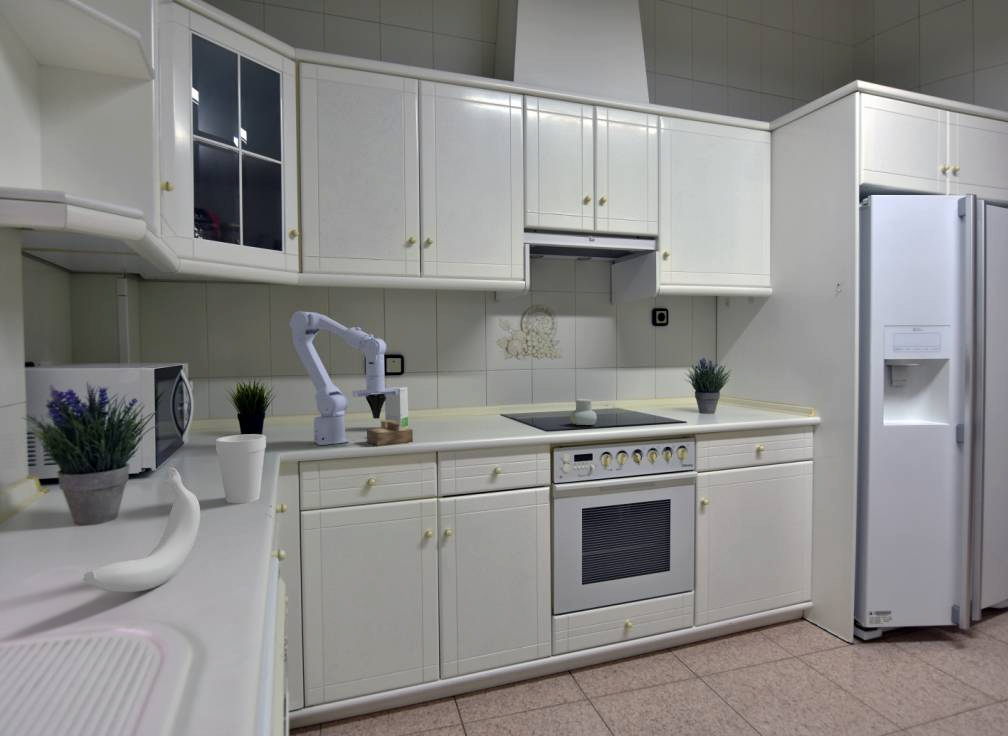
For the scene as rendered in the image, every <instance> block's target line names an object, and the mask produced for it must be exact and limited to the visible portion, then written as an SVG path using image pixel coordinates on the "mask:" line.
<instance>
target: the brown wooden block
mask: <svg viewBox="0 0 1008 736" xmlns="http://www.w3.org/2000/svg"><path fill="white" fill-rule="evenodd" d="M399 427H401V426H399ZM371 429H372V428H370V429H366V442H367V443H368V442H369V443H368V444H370V443H371V445H373V446H375V447H385V446H394V445H401V444H402V443H403V444H409V442H412V443H413V442H414V441H413V440H414V439H413V434H414V433H413V432H414V430H413V429H411V430H402V431H392V432H383V433H378V432H375V431H372V430H371ZM376 429H381V427H380V428H379V427H378V428H376ZM403 444H402V445H403Z"/></svg>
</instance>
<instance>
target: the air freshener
mask: <svg viewBox="0 0 1008 736" xmlns="http://www.w3.org/2000/svg"><path fill="white" fill-rule="evenodd" d="M597 417H598V416H597V413H596V412H595V411H593V410H592V399H589V398H577V399H576V400H575V410H573V411H572V412H570V421H571V424H573V425H575V424H576V425H591V426H593V425H594V424H596V422H597V421H598V418H597ZM576 425H575V426H576Z"/></svg>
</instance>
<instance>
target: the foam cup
mask: <svg viewBox="0 0 1008 736" xmlns="http://www.w3.org/2000/svg"><path fill="white" fill-rule="evenodd" d="M266 448H267V437H266V435H265V434H259V433H258V434H256V433H255V434H254V433H252V434H251V433H250V434H247V433H246V434H245V433H244V434H235V435H228V436H222V437H218V438H217V439H215V452H217V457H218V462H219V469H220V473H221V479H222V486H223V491H224V496H225V499H226V500H225V502H227V503H228V504H245V503H246V504H247V503H251V502H256V501H257V500H259V498H260V495H261V487H262V486H261V485H262V479H263V478H262V477H263V469H264V460H265V451H266Z"/></svg>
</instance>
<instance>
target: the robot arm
mask: <svg viewBox="0 0 1008 736" xmlns="http://www.w3.org/2000/svg"><path fill="white" fill-rule="evenodd" d="M290 318H291V319H290V322H289V323H288V324H289V326H290V328H291V330H292V331H291V332H292V333H291V334H292V344H293V346H294V348H295V350H296V352H297V354H298V356H299V359H300V360H301V362H302V364H303V366H304V368H305V370H306V372H307V374H308V376H309V378H310V380H311V382H312V385H313V386H314V388H315V391H316V392H315V395H314V398H315V401H316V408H317V411H318V412H319V414H320V416H315V417H314V419H313V435H314V436H313V443H315V444H317V445H319V446H326V445H327V446H328V445H335V444H336V445H337V444H345V443H350V440H348V439H347V438H346V428H345V427H346V426H345V425H346V423H345V422H346V420H345V416H346V415H345V414H346V413H345V411H346V410H347V409H348V406H349V400H348V398H347V396H346V395H344V394H343V393H342V392H341V390H340V388H339V387H338V386H336V385H334V384H333V382H332V380H331V378H330V376H329V374H328V372H327V370H326V368H325V366H324V364H323V362H322V360H321V358H320V356H319V354H318V352H317V349H316V348H315V346H314V344H313V341H314V339H315V337H316V336H317V334H318V333H319V332H320V330H321V329H324V330H326V331H327V332H331V333H333V334H335V335H337V336H339V337H341V338H343V340H344V343H345V344H348V345H349V346H351V347H353V348H355V349H358V351H360V352H362V353H363V354H364V356H365V375H366V376H365V383H366V389H361V390H358V389H357V390H352V398H358V397H359V398H360V397H361V398H362V397H365V399H366V402H367V404H368V405H369V407H370V410H371V413H372V418H373V419H374V420H375V419H380V418H381V412H382V408H383V406H384V405H385V400H386V396H385V395H393V394H395V395H397V394H398V389H397V388H398V387H389V388H390V389H385V388H386V385H385V381H386V380H385V377H386V376H385V354H386V352H387V349H388V348H387V347H388V346H387V343H386V341H384V340H383V339H382V338H381V337H374V334H372V333H370V334H368V333H367V332H365V331H362V328H361V327H359V326H358V327H357V326H356V327H353V326H352V327H350V328H348V327H346V326H345V325H344V324H341V323H339V322H337V321H336V320H333V318H330V317H329V316H326V315H325V314H320V313H319V312H318V311H317V312H315V311H313V312H311V311H304V310H303V311H302V310H298V311H296V312H294V313H293V314H292V316H291V317H290Z"/></svg>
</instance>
